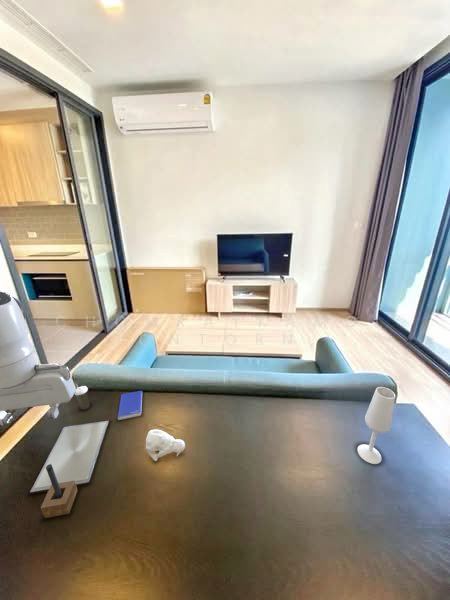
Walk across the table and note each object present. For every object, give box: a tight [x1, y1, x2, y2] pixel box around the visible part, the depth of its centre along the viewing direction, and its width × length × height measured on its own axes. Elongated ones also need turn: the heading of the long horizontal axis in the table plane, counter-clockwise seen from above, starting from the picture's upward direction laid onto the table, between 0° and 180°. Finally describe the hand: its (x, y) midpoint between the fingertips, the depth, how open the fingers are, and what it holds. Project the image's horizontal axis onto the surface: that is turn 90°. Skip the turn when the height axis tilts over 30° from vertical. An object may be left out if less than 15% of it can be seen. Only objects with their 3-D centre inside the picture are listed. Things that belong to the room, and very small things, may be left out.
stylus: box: [46, 464, 63, 499], centre depth 64 cm, size 1×1×14 cm
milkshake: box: [74, 382, 91, 411], centre depth 97 cm, size 5×5×10 cm
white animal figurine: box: [145, 428, 186, 462], centre depth 78 cm, size 6×8×12 cm
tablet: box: [29, 420, 110, 495], centre depth 80 cm, size 15×22×1 cm
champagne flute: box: [356, 386, 396, 465], centre depth 74 cm, size 7×7×24 cm
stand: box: [40, 480, 79, 519], centre depth 65 cm, size 6×6×4 cm
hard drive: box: [117, 390, 143, 421], centre depth 98 cm, size 2×8×12 cm
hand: (31, 419), depth 56 cm, fingers open, 8 cm apart
